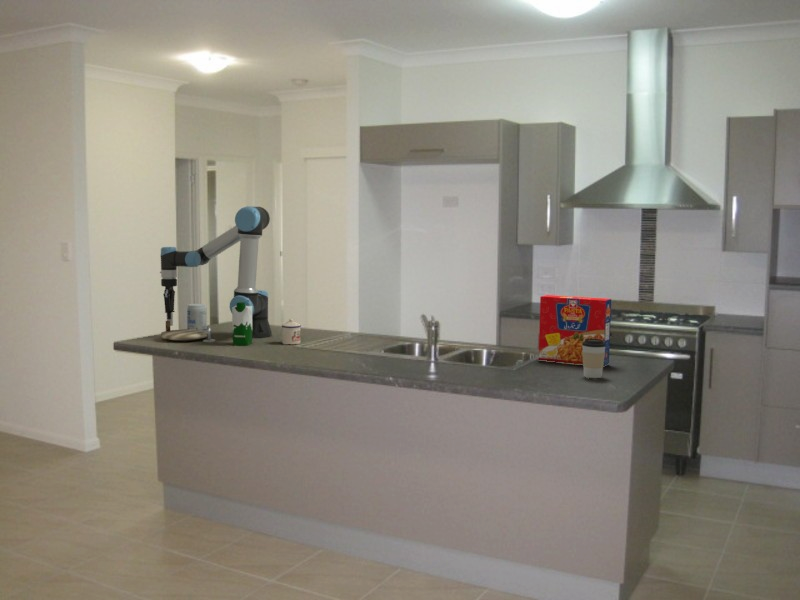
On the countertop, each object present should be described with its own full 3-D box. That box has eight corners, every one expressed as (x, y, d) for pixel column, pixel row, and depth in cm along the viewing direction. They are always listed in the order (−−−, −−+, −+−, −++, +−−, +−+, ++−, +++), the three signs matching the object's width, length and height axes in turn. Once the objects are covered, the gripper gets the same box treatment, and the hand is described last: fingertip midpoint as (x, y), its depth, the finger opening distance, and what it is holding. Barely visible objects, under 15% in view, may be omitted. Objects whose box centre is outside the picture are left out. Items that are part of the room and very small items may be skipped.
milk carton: (230, 345, 381) (230, 303, 378) (236, 342, 390) (236, 300, 387) (249, 346, 380) (248, 303, 378) (254, 343, 389) (254, 301, 386)
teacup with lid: (294, 345, 382) (294, 321, 381) (277, 344, 386) (277, 319, 385) (307, 342, 393) (307, 318, 392) (291, 340, 397) (291, 316, 396)
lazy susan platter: (217, 334, 402) (216, 321, 402) (188, 341, 382) (188, 326, 382) (180, 331, 411) (180, 318, 410) (151, 337, 391) (150, 323, 390)
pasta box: (538, 361, 349) (540, 296, 346) (545, 358, 356) (547, 294, 353) (603, 368, 335) (605, 300, 332) (608, 365, 342) (611, 299, 339)
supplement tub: (183, 333, 416) (183, 305, 414) (194, 331, 424) (194, 303, 423) (200, 334, 412) (199, 305, 411) (210, 332, 421) (210, 304, 420)
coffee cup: (601, 374, 321) (602, 337, 319) (607, 379, 312) (609, 340, 310) (578, 374, 321) (579, 337, 319) (584, 379, 312) (585, 340, 310)
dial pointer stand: (215, 341, 392) (215, 326, 391) (210, 342, 388) (209, 328, 388) (206, 340, 394) (206, 326, 393) (201, 341, 391) (200, 327, 390)
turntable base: (205, 338, 400) (205, 335, 400) (187, 342, 388) (187, 339, 388) (182, 336, 406) (182, 333, 406) (163, 340, 393) (163, 337, 393)
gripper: (164, 277, 410) (165, 323, 412) (157, 279, 397) (158, 327, 399) (179, 277, 410) (180, 323, 412) (173, 279, 397) (174, 327, 400)
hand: (169, 325), depth 406 cm, fingers closed
